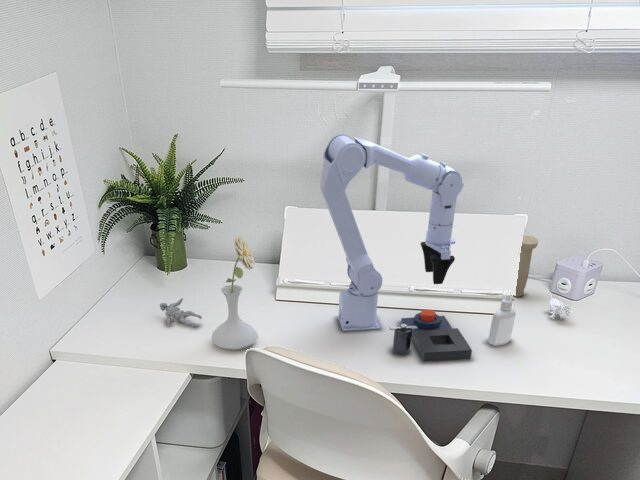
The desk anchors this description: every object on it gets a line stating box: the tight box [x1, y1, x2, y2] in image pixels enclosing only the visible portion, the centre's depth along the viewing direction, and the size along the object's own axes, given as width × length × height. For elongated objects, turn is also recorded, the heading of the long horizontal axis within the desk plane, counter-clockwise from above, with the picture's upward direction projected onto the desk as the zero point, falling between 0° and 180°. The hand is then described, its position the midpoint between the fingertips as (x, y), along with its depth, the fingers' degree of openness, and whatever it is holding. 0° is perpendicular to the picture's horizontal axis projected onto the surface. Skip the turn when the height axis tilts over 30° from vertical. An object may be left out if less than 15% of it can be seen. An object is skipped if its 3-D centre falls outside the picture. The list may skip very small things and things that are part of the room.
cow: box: [548, 290, 573, 320], centre depth 173 cm, size 12×5×5 cm, turn 179°
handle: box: [516, 235, 539, 298], centre depth 180 cm, size 5×6×15 cm
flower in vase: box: [210, 235, 259, 350], centre depth 158 cm, size 13×11×25 cm
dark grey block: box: [389, 324, 417, 356], centre depth 158 cm, size 6×4×7 cm, turn 95°
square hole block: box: [411, 327, 473, 363], centre depth 160 cm, size 11×11×2 cm
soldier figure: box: [159, 297, 203, 328], centre depth 174 cm, size 8×5×12 cm
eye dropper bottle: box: [487, 293, 517, 347], centre depth 160 cm, size 4×6×12 cm
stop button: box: [420, 309, 437, 322], centre depth 167 cm, size 4×4×2 cm
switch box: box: [400, 312, 453, 338], centre depth 169 cm, size 11×8×3 cm
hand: (433, 277), depth 169 cm, fingers open, 7 cm apart
